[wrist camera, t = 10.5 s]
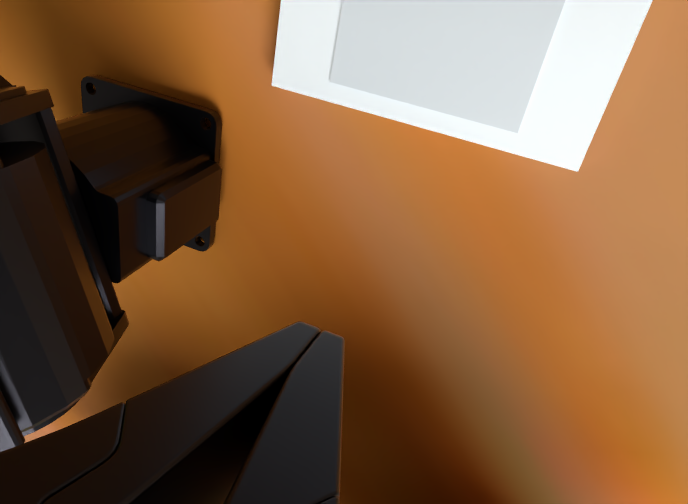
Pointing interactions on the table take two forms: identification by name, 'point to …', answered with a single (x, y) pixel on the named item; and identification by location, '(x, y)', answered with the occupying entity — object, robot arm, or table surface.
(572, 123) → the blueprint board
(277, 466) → the robot arm
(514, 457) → the table surface
